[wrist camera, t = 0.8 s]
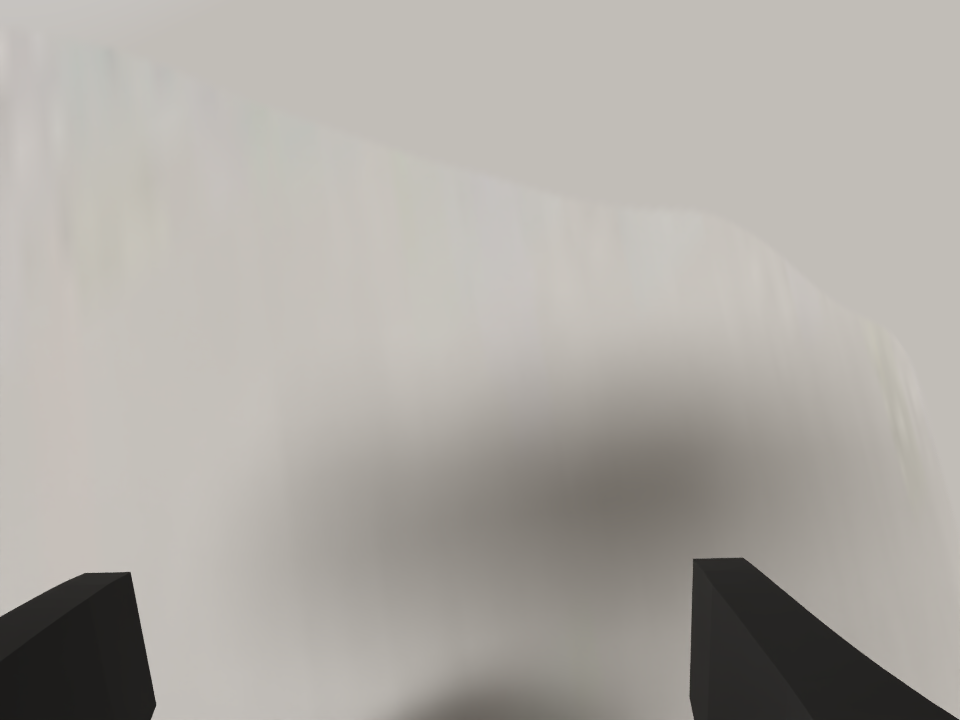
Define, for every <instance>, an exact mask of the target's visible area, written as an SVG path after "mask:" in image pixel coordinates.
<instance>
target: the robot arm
mask: <svg viewBox="0 0 960 720" xmlns="http://www.w3.org/2000/svg"><path fill="white" fill-rule="evenodd" d="M690 701H691V706H692V711H693V716H694V720H959V719H957V718H956V717H954V716H953V715H951V714H950V713H948V712H946V711H945V710H943V709H942V708H940V707H939V706H937V705H935V704H934V703H932V702H931V701H929V700H928V699H926V698H925V697H923V696H922V695H921V694H919V693H918V692H916V691H915V690H913V689H912V688H910V687H909V686H908V685H906V684H905V683H903V682H902V681H900V680H899V679H897V678H896V677H895V676H893V675H892V674H890V673H889V672H887V671H886V670H884V669H883V668H882V667H880V666H879V665H878V664H876V663H875V662H873V661H872V660H871V659H869V658H868V657H867V656H865V655H864V654H863V653H861V652H860V651H859V650H857V649H856V648H855V647H853V646H852V645H851V644H849V643H848V642H847V641H845V640H844V639H843V638H842V637H840V636H839V635H838V634H836V633H835V632H834V631H833V630H831V629H830V628H829V627H828V626H826V625H825V624H824V623H822V622H821V621H820V620H819V619H818V618H816V617H815V616H814V615H813V614H811V613H810V612H809V611H808V610H806V609H805V608H804V607H803V606H802V605H800V604H799V603H798V602H797V601H795V600H794V599H793V598H792V597H791V596H789V595H788V594H787V593H786V592H785V591H783V590H782V589H781V588H780V587H779V586H777V585H776V584H775V583H774V582H773V581H771V580H770V579H769V578H768V577H767V576H765V575H764V574H763V573H762V572H761V571H759V570H758V569H757V568H756V567H754V566H753V565H752V564H751V563H749V562H748V561H747V560H745V559H744V558H711V559H693V589H692V626H691V663H690ZM155 707H156V701H155V696H154V691H153V685H152V680H151V675H150V670H149V665H148V660H147V655H146V649H145V644H144V639H143V634H142V629H141V624H140V618H139V613H138V608H137V603H136V598H135V593H134V588H133V582H132V577H131V572H115V573H84V574H82V575H80V576H77V577H75V578H73V579H70V580H68V581H66V582H64V583H62V584H60V585H58V586H56V587H54V588H52V589H50V590H48V591H46V592H44V593H43V594H41V595H39V596H37V597H35V598H33V599H32V600H30V601H28V602H26V603H24V604H22V605H21V606H19V607H17V608H15V609H14V610H12V611H10V612H8V613H6V614H5V615H3V616H1V617H0V720H151V718H152V715H153V712H154V710H155Z"/></svg>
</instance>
